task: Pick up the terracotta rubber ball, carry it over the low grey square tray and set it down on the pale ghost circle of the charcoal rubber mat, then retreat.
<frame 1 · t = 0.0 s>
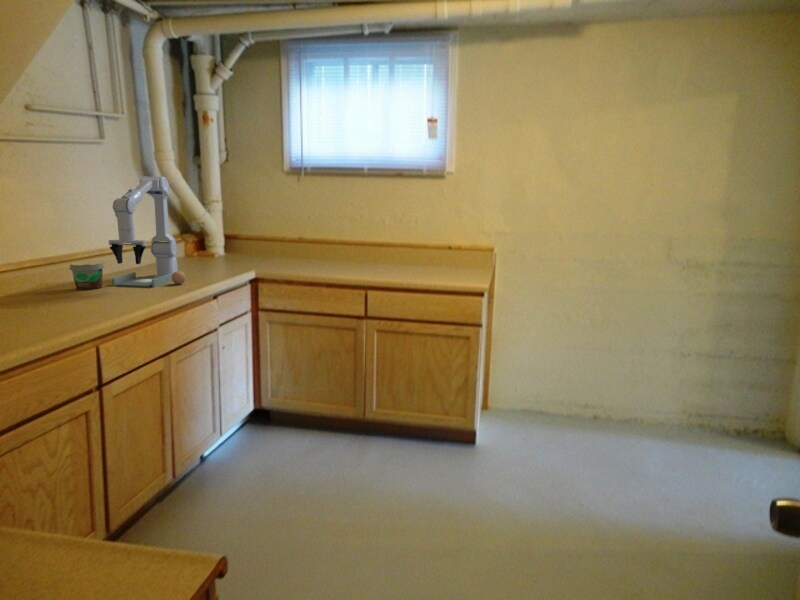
hand: (129, 263, 229), 10 cm above the counter, fingers open, 7 cm apart
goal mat: (143, 282, 243), on the counter
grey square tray: (143, 282, 243), on the counter
food container: (87, 289, 229), on the counter
ball: (178, 277, 241), point 3 cm above the counter
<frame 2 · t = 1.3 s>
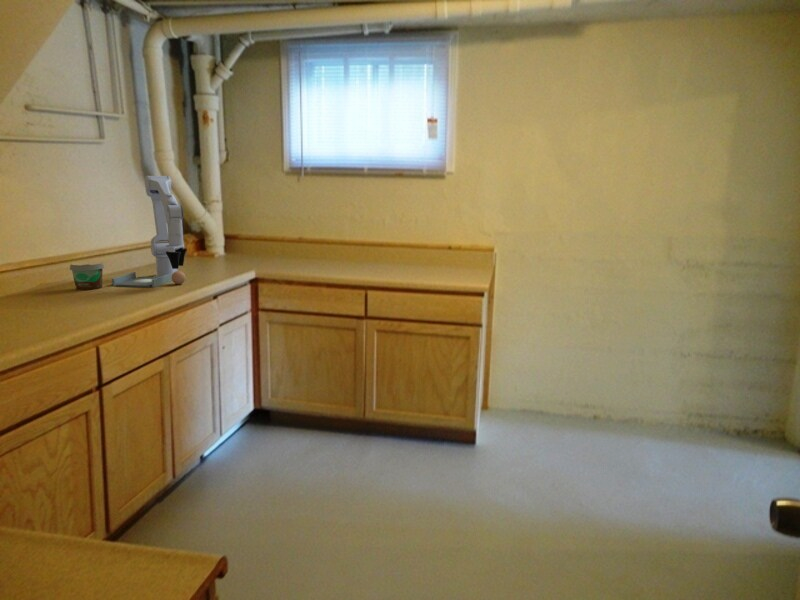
hand: (177, 267, 240), 7 cm above the counter, fingers open, 7 cm apart
nothing on the counter moved.
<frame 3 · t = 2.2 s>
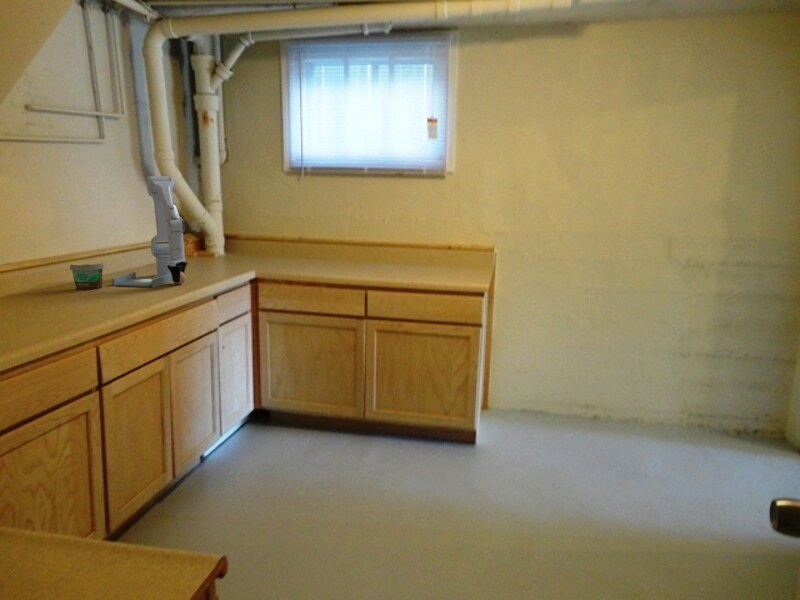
hand: (178, 280, 242), 1 cm above the counter, fingers closed on ball, 5 cm apart
ball: (178, 277, 241), point 3 cm above the counter, touching gripper
everything else where it was.
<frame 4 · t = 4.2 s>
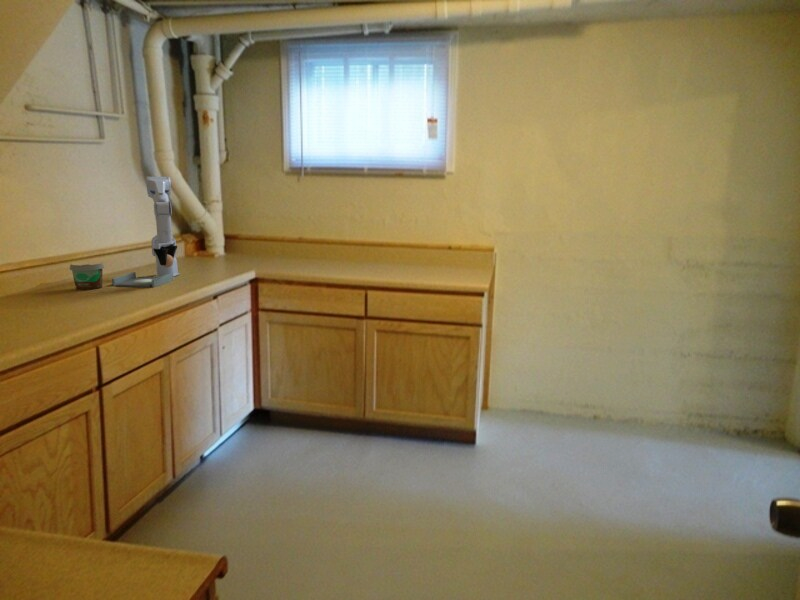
hand: (166, 264, 241), 8 cm above the counter, fingers closed on ball, 5 cm apart
ball: (166, 260, 240), point 10 cm above the counter, touching gripper
everything else where it was.
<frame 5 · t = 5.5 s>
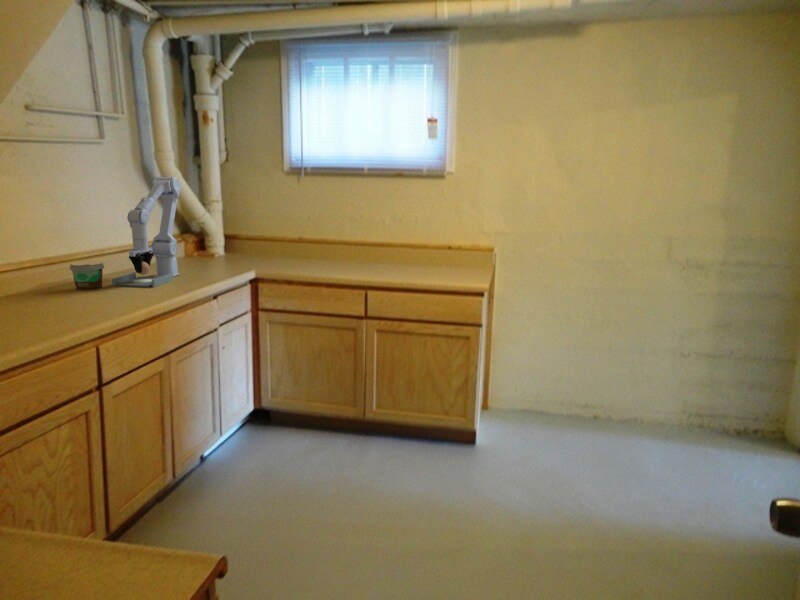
hand: (142, 271, 242), 5 cm above the counter, fingers closed on ball, 5 cm apart
ball: (142, 268, 242), point 6 cm above the counter, touching gripper
everything else where it was.
when the fingers open (3 cm above the counter, at t = 6.4 s): ball stays where it is, resting on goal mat.
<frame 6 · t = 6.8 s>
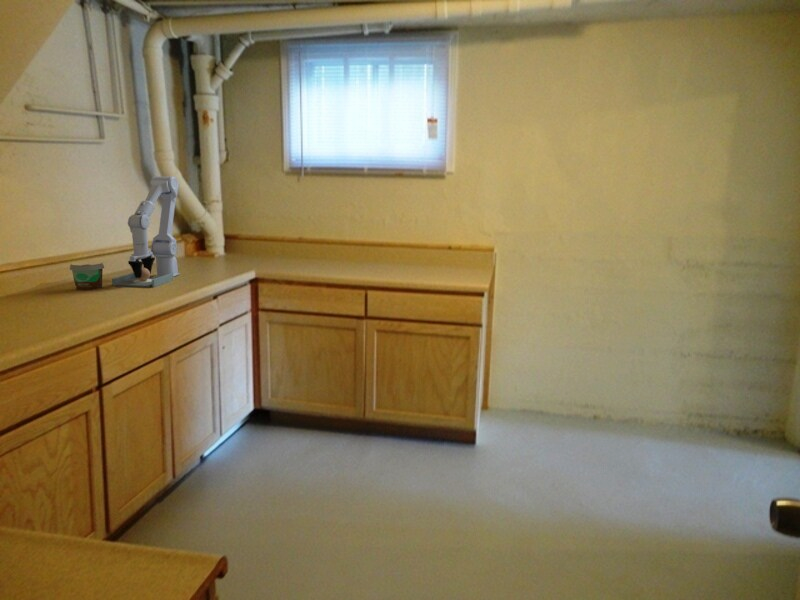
hand: (143, 276, 243), 3 cm above the counter, fingers open, 7 cm apart
ball: (143, 274, 243), point 4 cm above the counter, touching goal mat
everything else where it was.
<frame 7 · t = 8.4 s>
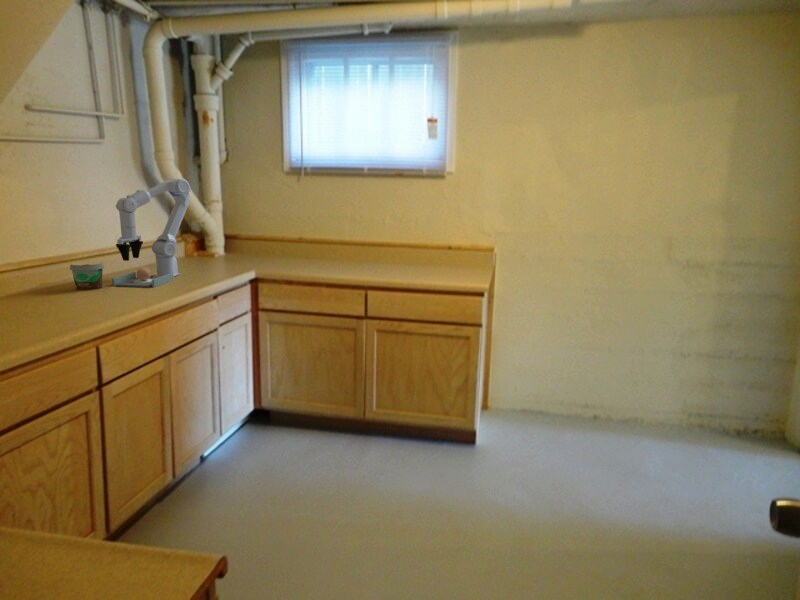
hand: (131, 259, 245), 9 cm above the counter, fingers open, 7 cm apart
ball: (143, 274, 243), point 4 cm above the counter, tilted 12°, touching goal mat
everything else where it was.
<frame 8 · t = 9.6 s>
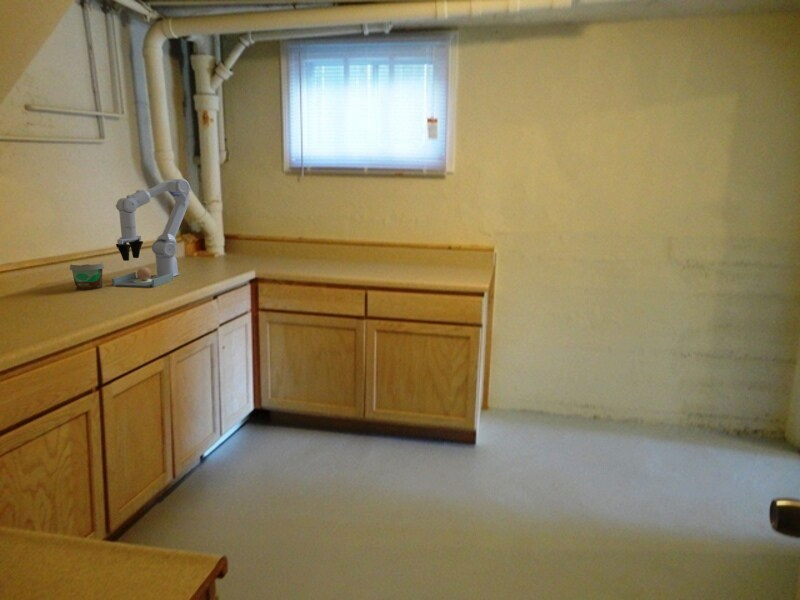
hand: (131, 259, 245), 9 cm above the counter, fingers open, 7 cm apart
ball: (144, 274, 243), point 4 cm above the counter, tilted 19°, touching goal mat
everything else where it was.
at the end: ball inside the target area on the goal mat (0.9 cm from its centre), point 3.6 cm above the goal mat's base; ball touching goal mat; the gripper is holding nothing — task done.
